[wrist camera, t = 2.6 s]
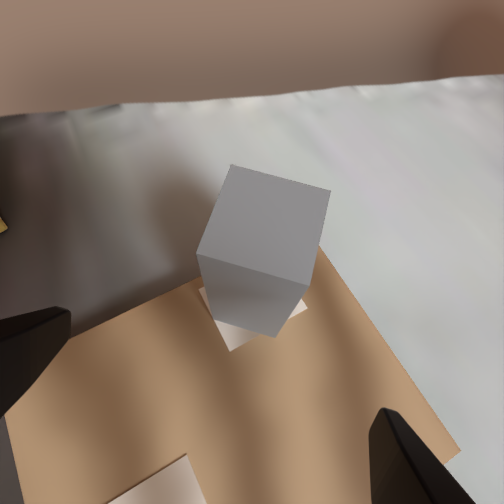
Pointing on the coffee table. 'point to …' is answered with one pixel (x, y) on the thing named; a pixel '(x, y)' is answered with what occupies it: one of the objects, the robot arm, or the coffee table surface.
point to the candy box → (2, 226)
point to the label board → (216, 406)
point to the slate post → (260, 248)
